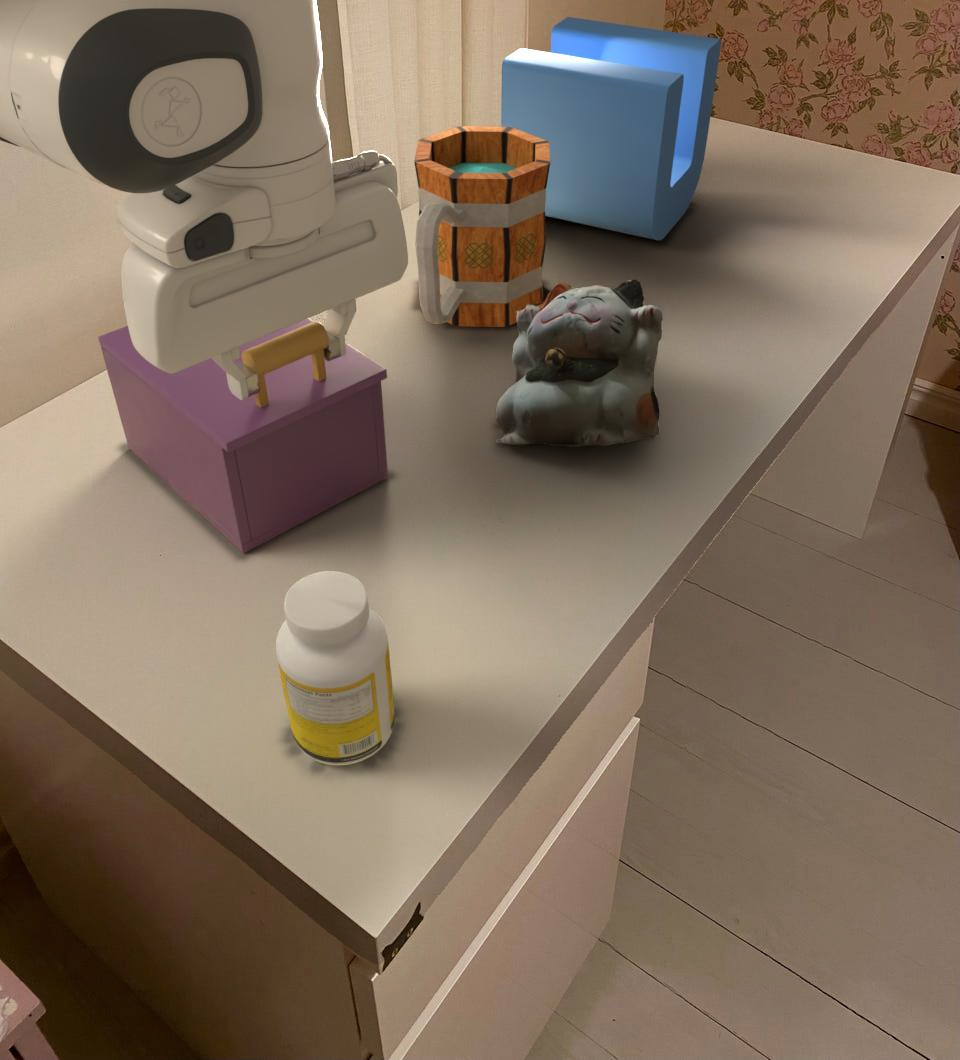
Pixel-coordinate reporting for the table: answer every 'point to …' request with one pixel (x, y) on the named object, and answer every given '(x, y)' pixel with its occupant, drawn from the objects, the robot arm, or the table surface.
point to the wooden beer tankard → (480, 224)
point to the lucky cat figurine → (584, 369)
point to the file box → (256, 459)
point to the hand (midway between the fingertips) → (289, 374)
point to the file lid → (284, 378)
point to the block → (616, 120)
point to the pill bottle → (335, 669)
